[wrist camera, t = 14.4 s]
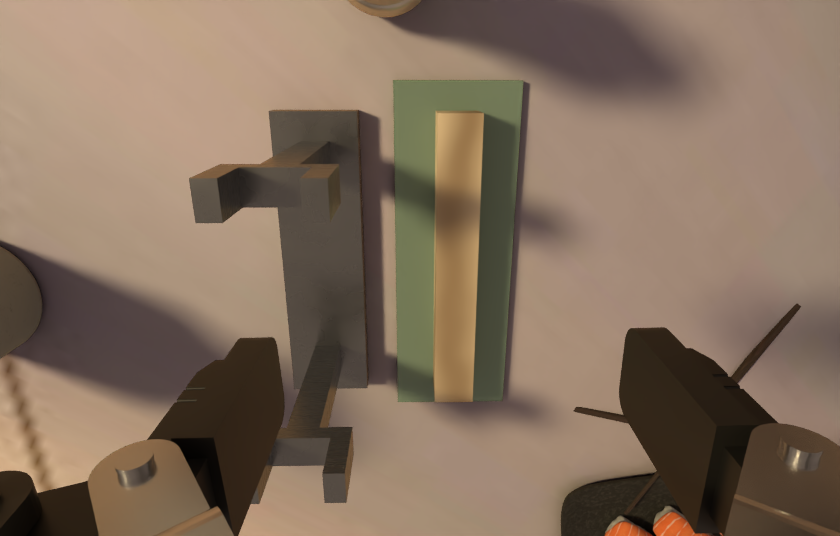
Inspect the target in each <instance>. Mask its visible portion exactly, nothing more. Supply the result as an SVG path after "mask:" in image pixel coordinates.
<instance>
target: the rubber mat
mask: <svg viewBox="0 0 840 536" xmlns="http://www.w3.org/2000/svg"><path fill="white" fill-rule="evenodd" d="M393 93H394V162H395V232H396V301H397V371H398V402H435V398H434V386H433V343H434V231H435V119H436V111H480V112H482V113H484V123H483V149H482V174H481V200H480V225H479V251H478V276H477V302H476V327H475V353H474V378H473V401H502V400H503V385H504V369H505V354H506V339H507V324H508V308H509V293H510V278H511V263H512V247H513V232H514V217H515V201H516V186H517V171H518V156H519V140H520V125H521V110H522V95H523V80H393Z"/></svg>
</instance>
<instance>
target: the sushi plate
mask: <svg viewBox="0 0 840 536" xmlns="http://www.w3.org/2000/svg"><path fill="white" fill-rule="evenodd" d="M800 307H801V306H800V305H798V304H796V305H795V306H794V307H793V308H792V309H791V310H790V311H789V312H788V313H787V314H786V315H785V316H784V317H783V318H782V320H781V321H780V322H779V323H778V324H777V325H776V326H775V327H774V328H773V329H772V330H771V331H770V332H769V334H768V335H767V336H766V337H765V338H764V339H763V340H762V341H761V342H760V343H759V344H758V345H757V346H756V348H755V349H754V350H753V351H752V352H751V353H750V354H749V355H748V356H747V358H746V359H745V360H744V361H743V363H742V364H741V365H740V367H739V368H738V369H737V370H736V372H735V373H734V374H733V376H732V377H731V378H732V379H733V380H734V381H735V382H736V383H738V382H739V380H740V379H741V378H742V377H743V376H744V374H745V373H746V372H747V371H748V370H749V369H750V367H751V366H752V365H753V364H754V363H755V361H756V360H757V359H758V358H759V357H760V356H761V354H762V353H763V352H764V351H765V350H766V348H767V347H768V346H769V345H770V344H771V342H772V341H773V340H774V339H775V338H776V336H777V335H778V334H779V333H780V332H781V330H782V329H783V328H784V327H785V326H786V325H787V323H788V322H789V321H790V320H791V318H792V317H793V316H794V315H795V314H796V312H797V311H798V310H799V309H800ZM574 411H575V412H578V413H583V414H587V415H592V416H597V417H601V418H606V419H610V420H615V421H620V422H624V423H628V421H627V420H626V418H625V416H624V415H620V414H615V413H609V412H604V411H599V410H593V409H588V408H582V407H576V408H575V410H574ZM561 536H723V535H722V533H701V534H695V533H694V531H693V529H692V528H691V526H690V524H689V523H688V521H687V519H686V518H685V516H684V514H683V513H682V511H681V510H680V508H679V506H678V505H677V503H676V501H675V500H674V498H673V496H672V495H671V493H670V491H669V490H668V488H667V486H666V485H665V483H664V481H663V480H662V478H661V476H660V475H659V473H658V471H656V473H655V474H654V475H650V476H642V477H635V478H627V479H620V480H613V481H606V482H600V483H595V484H591V485H587V486H583V487H580V488H578V489H576V490H574V491H572V492H571V493H569V494H568V495H567V497H566V498H565V500H564V503H563V506H562V512H561Z"/></svg>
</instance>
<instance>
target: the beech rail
mask: <svg viewBox="0 0 840 536" xmlns="http://www.w3.org/2000/svg"><path fill="white" fill-rule="evenodd" d="M483 123H484V113H482V112H480V111H436V119H435V231H434V343H433V386H434V398H435V402H473V378H474V353H475V327H476V302H477V276H478V251H479V225H480V200H481V174H482V149H483Z"/></svg>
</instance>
